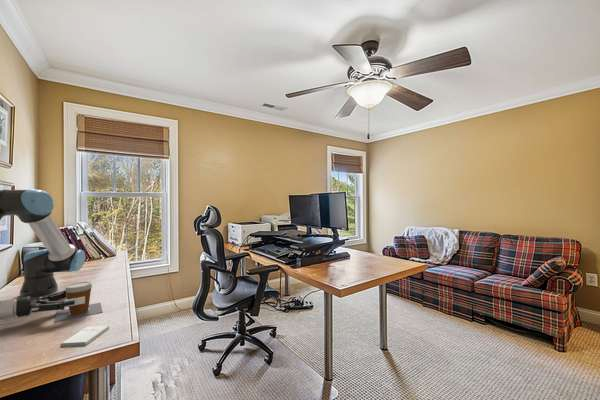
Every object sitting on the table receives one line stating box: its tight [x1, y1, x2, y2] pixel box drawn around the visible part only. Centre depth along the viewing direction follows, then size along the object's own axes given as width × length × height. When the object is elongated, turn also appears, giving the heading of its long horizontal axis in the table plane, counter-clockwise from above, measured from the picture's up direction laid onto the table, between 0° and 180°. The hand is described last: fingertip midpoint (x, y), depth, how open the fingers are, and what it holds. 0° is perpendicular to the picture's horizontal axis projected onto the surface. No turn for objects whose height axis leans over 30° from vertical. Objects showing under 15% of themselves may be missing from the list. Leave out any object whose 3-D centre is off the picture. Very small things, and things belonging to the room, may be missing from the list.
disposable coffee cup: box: [64, 281, 93, 315], centre depth 121 cm, size 10×10×12 cm
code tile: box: [53, 302, 103, 324], centre depth 121 cm, size 15×16×1 cm
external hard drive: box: [59, 325, 110, 348], centre depth 98 cm, size 2×8×12 cm
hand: (84, 295), depth 122 cm, fingers open, 13 cm apart
